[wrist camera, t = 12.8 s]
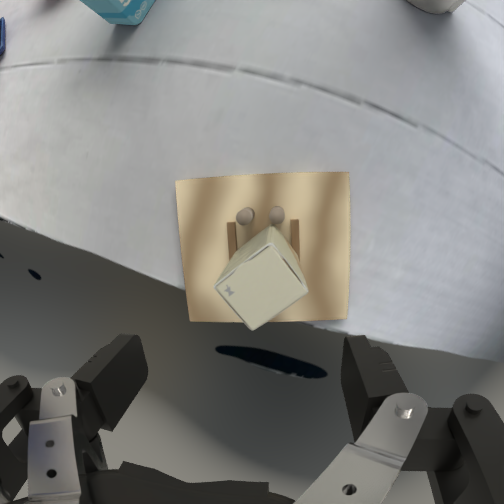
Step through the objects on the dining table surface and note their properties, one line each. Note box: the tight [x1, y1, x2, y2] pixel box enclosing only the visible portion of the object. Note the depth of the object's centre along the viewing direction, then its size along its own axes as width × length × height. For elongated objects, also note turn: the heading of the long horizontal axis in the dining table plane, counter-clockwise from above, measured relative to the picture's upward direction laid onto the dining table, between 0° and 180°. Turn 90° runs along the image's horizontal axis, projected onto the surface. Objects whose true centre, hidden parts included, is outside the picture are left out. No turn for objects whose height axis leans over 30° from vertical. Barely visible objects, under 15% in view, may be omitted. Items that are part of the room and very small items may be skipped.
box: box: [213, 224, 309, 330], centre depth 24 cm, size 5×4×11 cm
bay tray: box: [175, 172, 350, 322], centre depth 30 cm, size 18×16×5 cm
